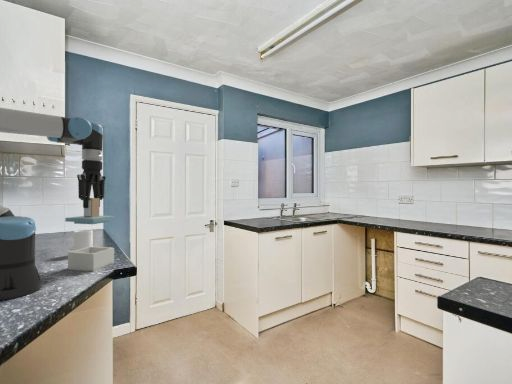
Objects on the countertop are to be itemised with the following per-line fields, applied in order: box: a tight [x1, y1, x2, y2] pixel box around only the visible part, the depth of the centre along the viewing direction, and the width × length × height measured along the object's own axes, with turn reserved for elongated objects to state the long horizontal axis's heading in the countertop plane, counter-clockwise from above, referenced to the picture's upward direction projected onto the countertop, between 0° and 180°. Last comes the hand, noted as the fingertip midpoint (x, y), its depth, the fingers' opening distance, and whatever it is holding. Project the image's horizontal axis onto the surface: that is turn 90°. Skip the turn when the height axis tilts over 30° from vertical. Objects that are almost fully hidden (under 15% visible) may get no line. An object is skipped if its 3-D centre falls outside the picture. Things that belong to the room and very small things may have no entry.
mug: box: [64, 229, 94, 251], centre depth 139 cm, size 12×8×12 cm
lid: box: [64, 197, 117, 225], centre depth 118 cm, size 13×13×10 cm
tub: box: [67, 246, 115, 272], centre depth 118 cm, size 12×12×7 cm
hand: (91, 215), depth 118 cm, fingers closed on lid, 4 cm apart
